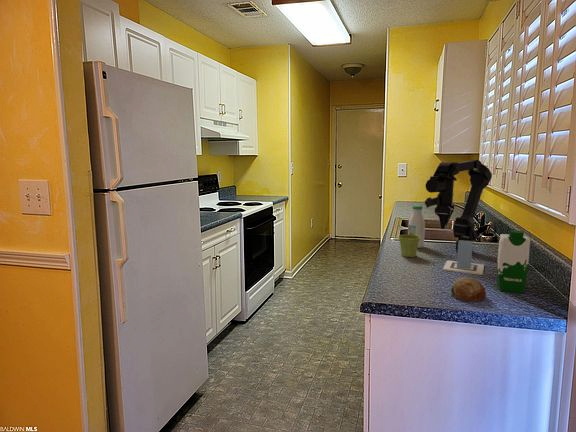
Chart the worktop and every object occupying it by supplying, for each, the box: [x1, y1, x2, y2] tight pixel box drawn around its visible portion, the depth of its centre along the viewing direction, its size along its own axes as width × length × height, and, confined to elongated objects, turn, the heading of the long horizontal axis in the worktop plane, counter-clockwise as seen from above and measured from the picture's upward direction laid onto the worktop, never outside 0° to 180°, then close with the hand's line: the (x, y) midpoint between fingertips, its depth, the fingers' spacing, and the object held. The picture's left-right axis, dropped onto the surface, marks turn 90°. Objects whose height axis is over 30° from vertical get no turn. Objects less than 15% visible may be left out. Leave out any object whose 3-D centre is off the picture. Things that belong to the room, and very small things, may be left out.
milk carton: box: [496, 230, 531, 294], centre depth 137 cm, size 9×9×20 cm
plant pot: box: [397, 234, 421, 258], centre depth 182 cm, size 9×9×9 cm
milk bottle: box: [407, 204, 426, 249], centre depth 199 cm, size 8×8×20 cm
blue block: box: [456, 240, 474, 269], centre depth 162 cm, size 5×5×10 cm
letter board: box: [442, 260, 485, 276], centre depth 163 cm, size 14×14×1 cm
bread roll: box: [450, 276, 487, 303], centre depth 131 cm, size 10×10×8 cm
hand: (443, 227), depth 180 cm, fingers open, 9 cm apart
